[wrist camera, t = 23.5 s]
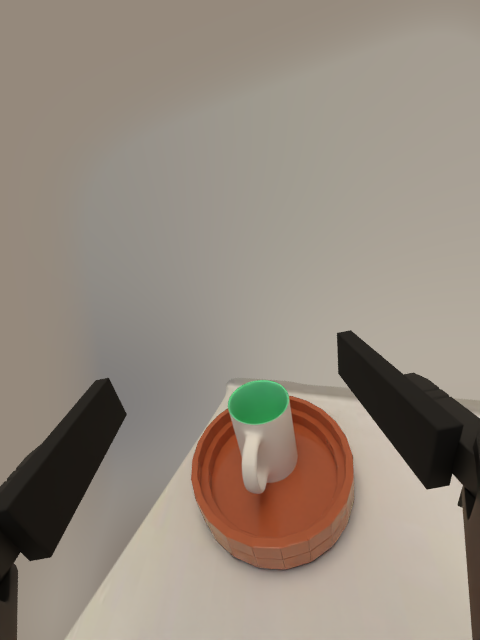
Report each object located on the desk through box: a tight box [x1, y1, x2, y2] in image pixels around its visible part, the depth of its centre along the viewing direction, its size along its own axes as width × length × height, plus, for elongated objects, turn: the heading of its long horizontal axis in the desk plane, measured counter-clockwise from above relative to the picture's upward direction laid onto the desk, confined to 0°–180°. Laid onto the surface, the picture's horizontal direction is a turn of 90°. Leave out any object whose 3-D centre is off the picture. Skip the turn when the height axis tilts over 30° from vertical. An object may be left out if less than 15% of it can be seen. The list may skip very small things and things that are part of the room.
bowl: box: [191, 396, 354, 570], centre depth 32 cm, size 21×21×4 cm
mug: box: [228, 380, 298, 494], centre depth 31 cm, size 12×8×10 cm, turn 168°
